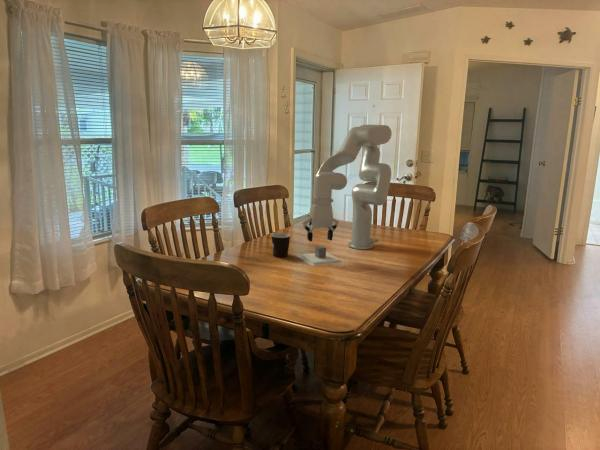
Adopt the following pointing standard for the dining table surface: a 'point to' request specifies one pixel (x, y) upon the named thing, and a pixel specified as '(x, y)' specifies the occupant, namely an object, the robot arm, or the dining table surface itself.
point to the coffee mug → (280, 244)
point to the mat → (318, 264)
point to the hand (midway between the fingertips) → (319, 240)
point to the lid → (320, 256)
